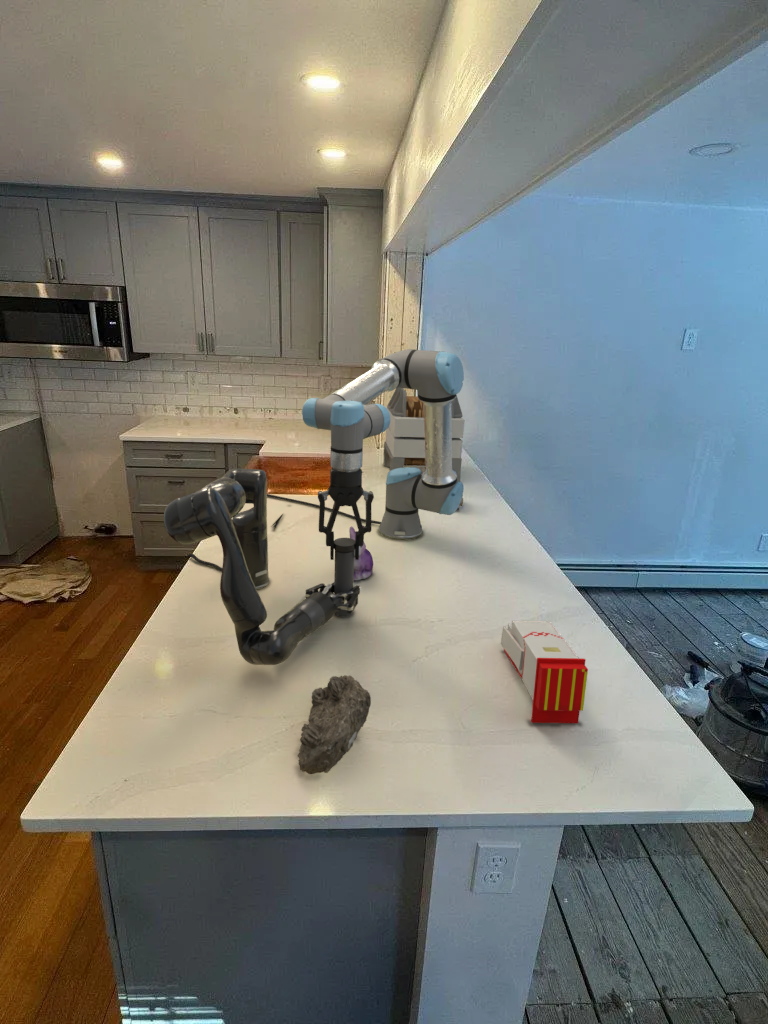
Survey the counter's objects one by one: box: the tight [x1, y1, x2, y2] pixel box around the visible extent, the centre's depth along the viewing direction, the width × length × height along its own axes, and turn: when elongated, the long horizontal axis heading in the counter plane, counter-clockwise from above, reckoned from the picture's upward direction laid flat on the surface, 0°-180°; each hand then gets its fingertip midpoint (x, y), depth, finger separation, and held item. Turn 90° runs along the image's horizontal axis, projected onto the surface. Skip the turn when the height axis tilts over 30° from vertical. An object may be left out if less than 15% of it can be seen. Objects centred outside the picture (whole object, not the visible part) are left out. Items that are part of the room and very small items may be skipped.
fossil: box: [296, 674, 372, 775], centre depth 103 cm, size 22×10×15 cm
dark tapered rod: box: [270, 513, 284, 530], centre depth 210 cm, size 2×28×2 cm
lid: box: [334, 537, 356, 552], centre depth 141 cm, size 6×6×2 cm
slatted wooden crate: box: [383, 388, 465, 482], centre depth 268 cm, size 34×33×41 cm
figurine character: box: [456, 494, 464, 511], centre depth 230 cm, size 7×8×15 cm
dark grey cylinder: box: [333, 549, 354, 618], centre depth 144 cm, size 5×5×19 cm
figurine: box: [348, 525, 374, 581], centre depth 166 cm, size 9×10×15 cm
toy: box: [500, 620, 589, 724], centre depth 121 cm, size 12×13×30 cm
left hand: (348, 586), depth 147 cm, fingers closed on dark grey cylinder, 5 cm apart
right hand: (344, 557), depth 142 cm, fingers closed on lid, 5 cm apart
